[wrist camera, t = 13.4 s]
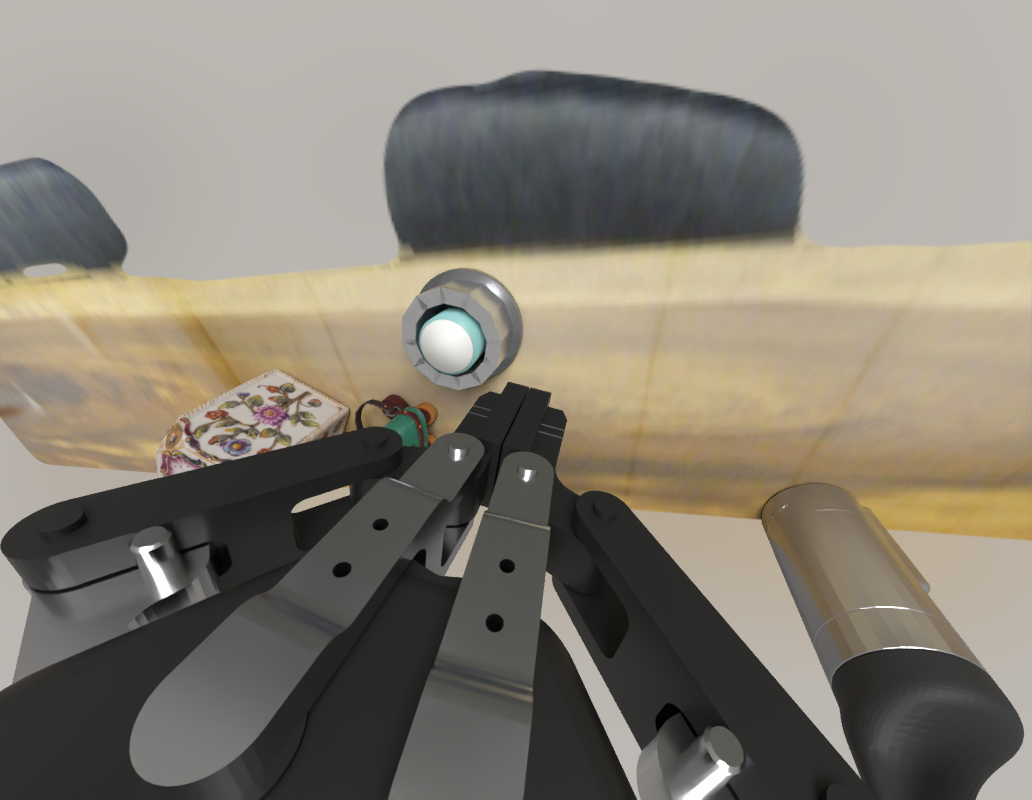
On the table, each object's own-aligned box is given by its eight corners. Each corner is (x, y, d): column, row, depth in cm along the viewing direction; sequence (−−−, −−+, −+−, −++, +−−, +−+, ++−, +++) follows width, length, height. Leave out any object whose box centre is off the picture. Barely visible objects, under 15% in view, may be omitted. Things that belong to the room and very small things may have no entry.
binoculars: (311, 423, 41) (392, 447, 38) (375, 383, 50) (444, 400, 47) (325, 488, 45) (399, 513, 42) (382, 441, 54) (446, 459, 51)
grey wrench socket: (532, 282, 38) (520, 294, 33) (513, 387, 44) (500, 410, 39) (419, 256, 40) (393, 264, 35) (415, 362, 46) (392, 380, 41)
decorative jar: (353, 407, 51) (237, 499, 36) (337, 465, 57) (232, 565, 42) (274, 363, 51) (122, 437, 36) (266, 426, 57) (134, 512, 42)
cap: (497, 308, 39) (479, 325, 34) (489, 360, 42) (472, 382, 37) (444, 295, 40) (418, 310, 35) (440, 347, 43) (416, 367, 38)
